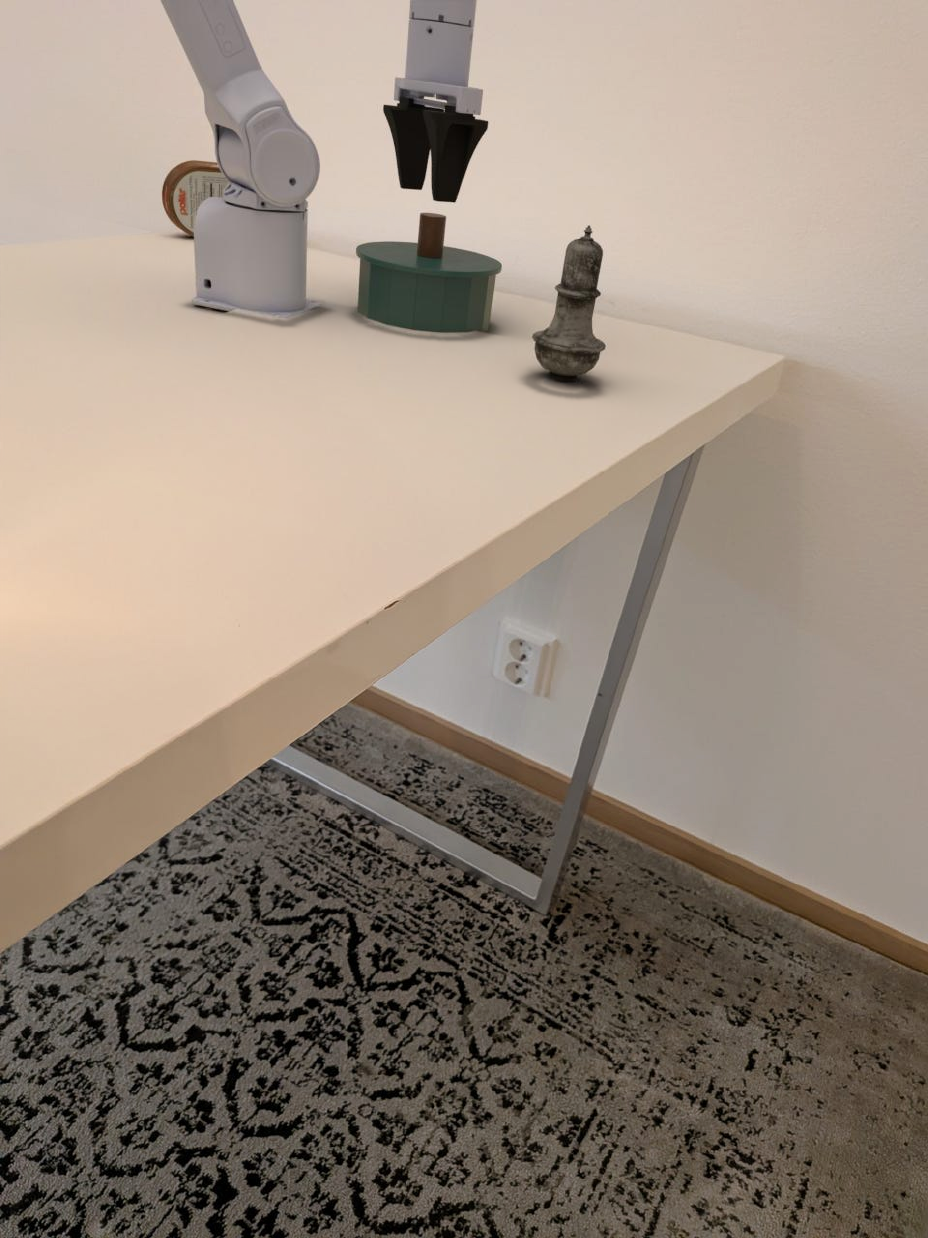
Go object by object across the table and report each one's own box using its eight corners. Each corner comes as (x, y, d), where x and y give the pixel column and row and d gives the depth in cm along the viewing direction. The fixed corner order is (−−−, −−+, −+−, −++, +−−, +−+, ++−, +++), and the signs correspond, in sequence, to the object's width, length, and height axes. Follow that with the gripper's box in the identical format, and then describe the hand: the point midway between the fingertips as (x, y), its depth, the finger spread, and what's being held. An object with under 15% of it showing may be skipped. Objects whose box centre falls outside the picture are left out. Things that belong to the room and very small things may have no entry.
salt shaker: (549, 397, 68) (578, 230, 62) (512, 374, 72) (535, 216, 66) (611, 394, 71) (644, 234, 64) (571, 372, 75) (599, 220, 69)
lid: (331, 265, 78) (333, 208, 76) (388, 247, 89) (391, 198, 87) (476, 292, 75) (483, 234, 73) (516, 270, 87) (523, 219, 84)
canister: (335, 320, 81) (338, 258, 78) (386, 298, 91) (390, 242, 89) (465, 346, 78) (472, 283, 75) (502, 320, 89) (510, 263, 86)
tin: (281, 237, 115) (282, 165, 110) (290, 242, 112) (290, 169, 108) (163, 233, 108) (158, 156, 103) (169, 238, 105) (165, 160, 101)
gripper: (521, 31, 73) (500, 209, 80) (446, 29, 84) (433, 186, 91) (445, 19, 70) (430, 205, 77) (377, 18, 81) (369, 181, 88)
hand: (427, 194), depth 84 cm, fingers open, 7 cm apart
